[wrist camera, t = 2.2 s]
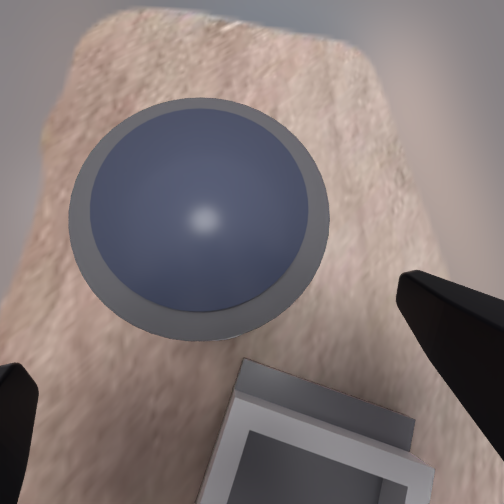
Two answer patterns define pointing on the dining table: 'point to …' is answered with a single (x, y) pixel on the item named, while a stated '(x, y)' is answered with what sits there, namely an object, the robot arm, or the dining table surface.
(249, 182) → the lens
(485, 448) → the dining table surface
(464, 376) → the robot arm
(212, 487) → the grey white tray
